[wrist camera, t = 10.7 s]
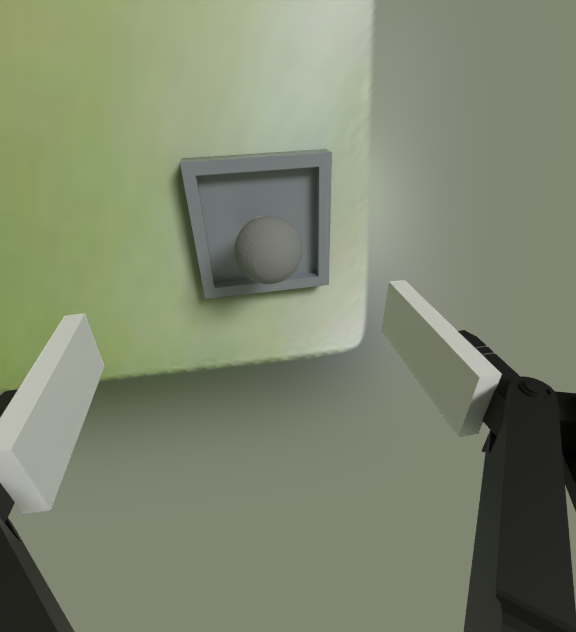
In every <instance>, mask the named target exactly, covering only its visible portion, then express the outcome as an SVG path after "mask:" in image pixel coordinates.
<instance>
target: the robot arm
mask: <svg viewBox="0 0 576 632" xmlns="http://www.w3.org/2000/svg"><path fill="white" fill-rule="evenodd" d="M382 332H383V333H384V335H385V336H386V338H387V339H388V340H389V342H390V343H391V345H392V346H393V347H394V349H395V350H396V351H397V353H398V354H399V356H400V357H401V358H402V360H403V361H404V362H405V364H406V365H407V366H408V368H409V369H410V370H411V372H412V374H413V375H414V376H415V378H416V379H417V381H418V382H419V383H420V384H421V386H422V387H423V389H424V390H425V391H426V393H427V394H428V396H429V397H430V399H431V400H432V401H433V403H434V404H435V405H436V407H437V408H438V410H439V411H440V412H441V414H442V415H443V416H444V418H445V419H446V421H447V422H448V423H449V425H450V426H451V427H452V429H453V430H454V432H455V433H456V434H457V436H458V437H462V436H467V435H473V434H478V433H479V431H480V428H481V425H482V423H483V422H484V423H485V424H486V425H487V426H488V428H489V429H490V432H489V435H488V437H487V439H486V442H485V444H484V446H483V449H482V451H483V452H486V453H485V462H484V470H483V478H482V486H481V494H480V502H479V511H478V519H477V527H476V536H475V543H474V551H473V560H472V568H471V576H470V584H469V592H468V601H467V609H466V617H465V625H464V632H576V610H575V600H574V586H573V575H572V563H571V551H570V541H569V540H570V539H569V528H568V518H567V517H568V516H567V504H566V494H565V493H566V492H565V485H566V488H567V490H568V493H569V495H570V498H571V501H572V503H573V506H574V508H575V510H576V393H565V392H555V391H554V390H553V389H552V388H551V387H550V386H548V385H547V384H545V383H544V382H542V381H539V380H537V379H534V378H530V377H520V376H519V375H518V374H517V373H516V372H515V371H514V370H512V369H511V368H510V367H509V366H508V365H507V364H506V363H505V362H504V361H503V360H502V359H501V358H500V357H498V356H497V355H496V354H494V353H493V351H492V350H491V349H490V348H489V347H486V345H485V344H484V343H483V342H482V341H481V340H480V339H479V338H478V337H476V336H474V335H473V334H470V333H469V332H467V331H465V330H462V331H457V330H456V329H455V328H454V327H453V326H452V325H451V324H450V323H449V322H447V320H445V319H444V318H443V317H442V316H441V315H440V314H439V313H438V312H437V311H436V310H435V309H434V308H433V307H432V306H431V305H430V304H429V303H428V302H427V301H426V300H425V299H424V298H423V297H422V296H421V295H420V294H418V292H416V291H415V290H414V289H413V288H412V287H411V286H410V285H409V284H408V283H407V282H406V281H405V280H400V281H390V282H389V285H388V292H387V298H386V305H385V312H384V319H383V325H382ZM103 369H104V363H103V361H102V358H101V355H100V352H99V350H98V347H97V344H96V342H95V339H94V336H93V334H92V331H91V328H90V326H89V323H88V320H87V318H86V315H85V314H76V315H66V316H64V317H63V319H62V321H61V322H60V324H59V325H58V327H57V329H56V330H55V332H54V333H53V335H52V337H51V338H50V340H49V341H48V343H47V344H46V346H45V348H44V349H43V351H42V352H41V354H40V356H39V357H38V359H37V360H36V362H35V364H34V365H33V367H32V368H31V370H30V371H29V373H28V375H27V376H26V378H25V379H24V381H23V383H22V384H21V386H20V387H19V389H18V390H11V391H5V392H4V393H3V394H2V395H0V632H74V631H73V628H72V627H71V625H70V623H69V621H68V620H67V618H66V616H65V614H64V613H63V611H62V610H61V608H60V606H59V604H58V602H57V601H56V599H55V597H54V595H53V594H52V592H51V590H50V588H49V587H48V585H47V583H46V582H45V580H44V578H43V576H42V575H41V573H40V571H39V569H38V568H37V566H36V564H35V562H34V561H33V559H32V557H31V555H30V554H29V552H28V550H27V548H26V547H25V545H24V543H23V541H22V540H21V538H20V536H19V535H18V533H17V531H16V529H15V528H14V526H13V524H12V523H11V521H10V520H9V519H8V516H9V514H10V511H11V509H12V507H13V505H14V504H15V506H16V507H17V508H18V510H19V511H20V512H21V514H22V515H26V514H31V513H37V512H43V511H48V510H51V509H52V506H53V503H54V501H55V498H56V495H57V493H58V490H59V487H60V484H61V482H62V479H63V476H64V474H65V471H66V468H67V466H68V463H69V460H70V457H71V454H72V452H73V449H74V447H75V444H76V441H77V439H78V436H79V433H80V430H81V428H82V425H83V422H84V420H85V417H86V414H87V412H88V409H89V406H90V403H91V401H92V398H93V396H94V393H95V390H96V387H97V385H98V382H99V379H100V377H101V374H102V371H103Z"/></svg>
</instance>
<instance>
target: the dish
mask: <svg viewBox="0 0 576 632" xmlns="http://www.w3.org/2000/svg"><path fill="white" fill-rule="evenodd" d="M180 166H181V171H182V177H183V182H184V188H185V193H186V198H187V204H188V209H189V215H190V220H191V226H192V231H193V236H194V242H195V247H196V253H197V258H198V263H199V269H200V274H201V280H202V285H203V290H204V296H205V299H209V298H218V297H227V296H235V295H244V294H253V293H262V292H270V291H279V290H288V289H297V288H306V287H314V286H323V285H329V249H330V208H331V166H332V152H331V151H329V150H327V149H320V150H305V151H290V152H275V153H260V154H245V155H230V156H215V157H200V158H186V159H181V161H180ZM257 216H275V217H278V218H281V219H283V220H285V221H287V222H288V223H289V224H291V225H292V226H293V227H294V229H295V230H296V231H297V233H298V235H299V237H300V239H301V243H302V258H301V261H300V264H299V266H298V267H297V269H296V271H295V272H294V273H293V274H292V275H291V276H290V277H289V278H287V279H286V280H284V281H282V282H279V283H275V284H262V283H258V282H255V281H253V280H251V279H250V278H248V277H247V276H246V275H245V274H244V273H243V272H242V271H241V269H240V268H239V266H238V264H237V262H236V259H235V253H234V250H235V242H236V238H237V236H238V234H239V232H240V230H241V229H242V228H243V227H244V226H245V225H246V224H247V223H248V222H249V221H251V220H253V219H254V218H256V217H257Z"/></svg>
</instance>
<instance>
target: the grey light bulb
mask: <svg viewBox="0 0 576 632" xmlns="http://www.w3.org/2000/svg"><path fill="white" fill-rule="evenodd" d="M234 253H235V259H236V262H237V264H238V266H239V268H240V269H241V271H242V272H243V273H244V274H245V275H246V276H247V277H248V278H250V279H251V280H253V281H255V282H258V283H262V284H275V283H279V282H282V281H284V280H286V279H287V278H289V277H290V276H291V275H292V274H293V273H294V272H295V271H296V269H297V267H298V266H299V264H300V261H301V258H302V243H301V239H300V237H299V235H298V233H297V231H296V230H295V229H294V227H293V226H292V225H291V224H289V223H288V222H287V221H285V220H283V219H281V218H278V217H275V216H257V217H256V218H254V219H253V220H251V221H249V222H248V223H247V224H246V225H245V226H244V227H243V228H242V229H241V230H240V232H239V234H238V236H237V238H236V242H235V250H234Z"/></svg>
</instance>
